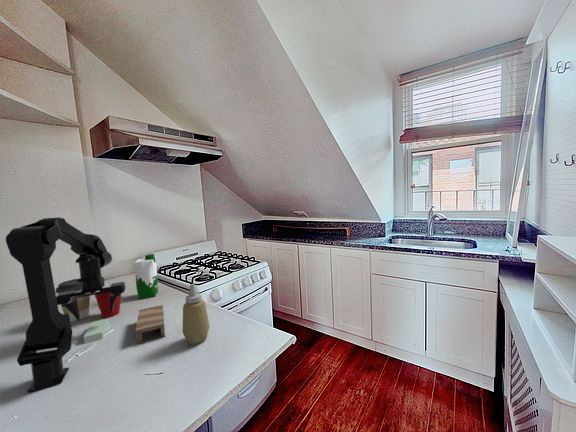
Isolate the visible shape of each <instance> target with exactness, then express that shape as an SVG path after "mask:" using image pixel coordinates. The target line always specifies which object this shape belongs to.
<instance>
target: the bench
mask: <svg viewBox="0 0 576 432" xmlns="http://www.w3.org/2000/svg"><path fill="white" fill-rule="evenodd" d="M137 313H138V314H137V321H136V327H135V338H136V345H141V344H143V341H144V340H143V333H146V332H149V331H154V330H158V329H160V335H161V338H165V337H166V331H165V317H164V316H165V315H164V305H163V304H161V305H156V306H151V307H146V308H142V309H138V312H137Z"/></svg>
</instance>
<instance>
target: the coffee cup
mask: <svg viewBox="0 0 576 432" xmlns="http://www.w3.org/2000/svg"><path fill="white" fill-rule="evenodd" d="M71 290H75V293H76V292H81V291H82V288H81V286H80V278H79V277H78V278H73V279H69V280H66V281H62V282H60V283H58V284H57V288H55V294H57V296H58V295H59V294H60V293H61V292H65V291H71ZM86 294H88V293H86ZM90 304H91V296H85V297H80V298H77V305H78V310H79V314H80V320H79V321H81V320H84V319H86V318H87V317H89V316H90V308H91V307H90V306H91V305H90ZM61 305H62V304H61ZM61 305H60V306H61ZM61 309H62V312H63V313H62V314H68V315H69V316H70V323H72V322H73V323H74V322H77V321H78V320H77V319H76V318H75V317H74V315H73V314H72V313H71V312H70V311H69V310H68V309H67V308H66V307H65V306H64V307H61Z"/></svg>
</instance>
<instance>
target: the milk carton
mask: <svg viewBox="0 0 576 432" xmlns="http://www.w3.org/2000/svg"><path fill="white" fill-rule="evenodd" d="M133 265H134V276H135V286H136V287H135V288H136V292H137V297H138V300H143V299H144V300H145V299H150V298H155V297H156V296H157V294H158V293H159V280H158V279H159V278H158V268H157V267H158V266H157V257H156V256H155V253H148V254H144V257H143V258H138V259H137V260H135V261H134V262H133Z"/></svg>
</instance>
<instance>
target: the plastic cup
mask: <svg viewBox="0 0 576 432" xmlns="http://www.w3.org/2000/svg"><path fill="white" fill-rule="evenodd" d="M112 283H113V282H109V283H105V286H104V287H103V288H105V287H110V286H111V285H112ZM96 292H99V291H96ZM122 294H123V293H121V294H120V296H117V297H116V300H115V303H114V307H113V311H112V314H110V295H111V293H110V292H107V293H102V294H96V295H94V297H95V299H96V302H97V306H98V309H99V311H100V314H101V316H102V318H104V319H109V318H113V317H115V316H117V315H119V314H120V311H121V303H122Z"/></svg>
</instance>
